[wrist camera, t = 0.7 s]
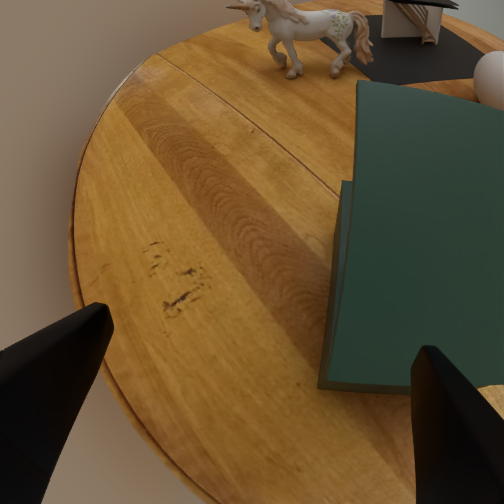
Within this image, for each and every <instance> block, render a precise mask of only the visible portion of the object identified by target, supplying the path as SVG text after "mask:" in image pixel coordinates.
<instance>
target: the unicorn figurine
mask: <svg viewBox="0 0 504 504" xmlns="http://www.w3.org/2000/svg"><path fill="white" fill-rule="evenodd" d="M238 1H239V2H241V3H243V4H242V5H228V6H226V8H230V9H239V10H242V11H244V12H245V13H246V15H248V17H249V20H250V26H249V28H250V29H251V30H253V31H255V32H259V31H260V30H261V29H262V18H263V17H264V16H265V18H266V19H267V21H268V28H269V30H270V33H271V35H272V36H273V37H272V39H271V40H270V42H269V44H268V49H269V52H270V53H271V55H272V57H273V60H274V61H275V62H276V63H278V65H279V66H280V67H283V68H286V65H287V63H286V60H287V56H286V55H285V54H283V53H281V52H277V51H276V45H277V44H278V43H279V42H280V41H282V43H283V45H284V46H285V48H286V50H287V52H288V55H289V57H290V58H291V60H292V68H291V70H290V71H289V72H288V74H287V75H286V77H287V78H289V79H293V78H295V77H296V73H299V74H301V75H303V72H302V69H303V63H302V62H301V61H300V60H298V59H297V54H296V51H295V49H294V46H293V40H296V41H314V40H318V39H320V38H322V37H328V38H329V39H331V40H332V41H333V42H334V43H335V44H336V46H337V47H338V48H339V49H340V51H341V52H340V54H339V55H338V56H337V57H336V59H335V60H334V61H332V63H331V65H330V73H331V76H332V78H335V77H337V76H338V75H339V70H340V69H341V68H342V67H343V63H344V64H345V65H348V63H349V62H350V60H351V56H350V54H351V49H350V48H349V45H350V44H349V42H348V41H347V40H346V38H347V37H348V36H349V35H350V34H351V32H352V30H353V21H354V23H355V28H354V39H355V44H354V51H355V52H356V57H357V59H359V60H360V61H361V62H362V63H363V64H365V65H367V62H372V61H373V58H372V57H371V56H373V55H372V53H371V51H370V48H369V46H373V44H372V43H371V42H370V41H369V39H368V37H369V26H368V25H367V23H368V20H367V19H366V18H365V16H364V15H363V14H361V13H359V12H357V11H351V12H348V13H344V12H341V11H338V10H334V9H327V10H321V11H300V10H298V9H295V8H293V6H292V5H291V4H290V3H289V2H288V1H287V0H238Z"/></svg>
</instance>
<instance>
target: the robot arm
mask: <svg viewBox="0 0 504 504" xmlns="http://www.w3.org/2000/svg"><path fill="white" fill-rule="evenodd" d="M113 332H114V323H113V320H112V317H111V313H110V310H109V307H108V306H107V305H106V304H103V303H99V302H94V303H92V304H90V305H88V306H86V307H84V308H82V309H80V310H78V311H76V312H75V313H72V314H71V315H69V316H67V317H65V318H63V319H61V320H59V321H57V322H55V323H53V324H51V325H49V326H47V327H46V328H43V329H42V330H39V331H37V332H36V333H34V334H32V335H30V336H28V337H26V338H24V339H22V340H20V341H19V342H17V343H15V344H13V345H11V346H9V347H7V348H5V349H4V351H3V350H2V351H0V504H41V502H42V500H43V497H44V494H45V492H46V489H47V486H48V484H49V481H50V478H51V476H52V473H53V471H54V468H55V466H56V463H57V461H58V459H59V456H60V454H61V451H62V449H63V447H64V445H65V442H66V440H67V438H68V435H69V433H70V431H71V429H72V426H73V424H74V422H75V420H76V418H77V415H78V413H79V411H80V409H81V407H82V404H83V403H84V400H85V398H86V396H87V394H88V392H89V390H90V388H91V386H92V384H93V382H94V380H95V378H96V375H97V373H98V371H99V368H100V366H101V363H102V361H103V358H104V355H105V353H106V350H107V347H108V345H109V342H110V340H111V337H112V335H113ZM410 375H411V422H412V433H413V444H414V458H415V476H416V504H504V420H503V419H502V417H501V416H500V415H499V414H498V413H497V412H496V410H495V409H494V408H493V407H492V406H491V405H490V404H489V402H488V401H487V400H486V399H485V398H484V397H483V396H482V395H481V394H480V392H479V391H478V390H477V389H476V388H475V387H474V386H473V385H472V384H471V382H470V381H469V380H468V379H467V378H466V377H465V376H464V375H463V374H462V373H461V372H460V371H459V369H458V368H457V367H456V366H455V365H454V364H453V363H452V362H451V361H450V360H449V359H448V358H447V357H446V356H445V355H444V354H443V353H442V352H441V350H440V349H439V348H438V347H436V346H434V345H423V346H422V347H421V348H420V350H419V352H418V354H417V356H416V358H415V360H414V362H413V364H412V366H411V371H410Z"/></svg>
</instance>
